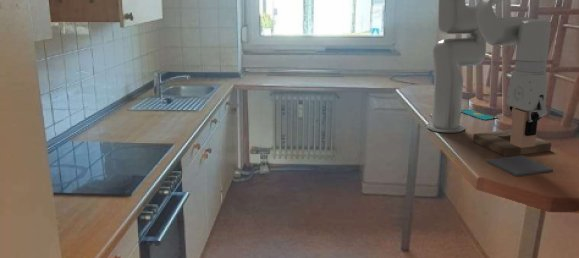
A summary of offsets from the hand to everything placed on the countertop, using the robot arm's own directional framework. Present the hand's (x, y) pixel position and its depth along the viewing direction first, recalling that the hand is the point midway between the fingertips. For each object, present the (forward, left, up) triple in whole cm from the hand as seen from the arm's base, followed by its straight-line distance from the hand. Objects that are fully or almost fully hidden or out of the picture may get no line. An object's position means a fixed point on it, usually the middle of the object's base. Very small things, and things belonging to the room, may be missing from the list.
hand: (523, 132), depth 138 cm
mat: (0, 0, -10) cm, 10 cm away
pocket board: (-16, +10, -10) cm, 22 cm away
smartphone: (-52, +24, -11) cm, 58 cm away
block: (0, 0, -4) cm, 4 cm away
